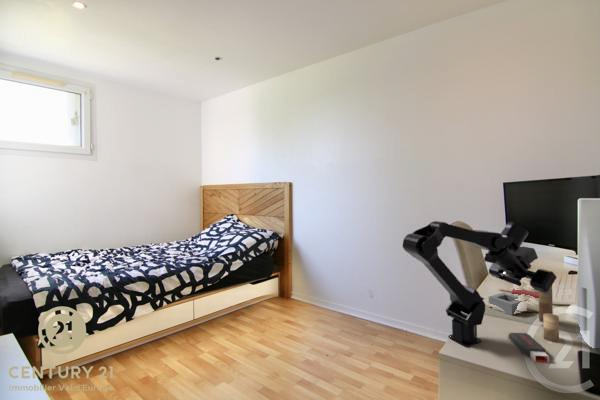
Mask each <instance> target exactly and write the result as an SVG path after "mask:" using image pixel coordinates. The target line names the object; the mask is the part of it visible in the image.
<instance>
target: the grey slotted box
mask: <svg viewBox="0 0 600 400" xmlns="http://www.w3.org/2000/svg"><path fill="white" fill-rule="evenodd" d="M519 297H520V296H518V295H514V294H510V293H507V292H502V293H501V292H500V293H497V294H493V295H490V296H488V304H489V303H490V304H493V305H496V306H498V307H500V308H502V309H503V310H504V311H505V312H506V313H507V315H509V316H515V315H514V312H515V310H516V309H517V306H518V304H519V303H520V302H522V301H519V300H515V299H518V298H519ZM525 299H526V298H525ZM527 300H528V299H526V300H524V301H527ZM506 313H505V314H506Z"/></svg>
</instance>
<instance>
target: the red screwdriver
mask: <svg viewBox="0 0 600 400" xmlns="http://www.w3.org/2000/svg"><path fill="white" fill-rule="evenodd" d="M514 288H515V287H513V288H512V289H504V288H498V290H501V291H506V292H511V295H514V294H518V295H517V296H520V295H521V294H525V295H530V296H533V297H535V298H534V299H539V291H532V290H526V289H522V290H515V289H514Z"/></svg>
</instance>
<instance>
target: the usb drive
mask: <svg viewBox="0 0 600 400" xmlns="http://www.w3.org/2000/svg"><path fill="white" fill-rule="evenodd" d="M507 338H508V340H509V341H510V342H511V343H512V344H513V345H514V346H515V347H517V349H518V350H519V351H520V352H521V353H522V354H523V355H525V356H526V357H528V358H531V359H532V360H533V361H534V362H546V363H549V362H550V356H549V355H548V354H547V353H546V348H545V347H543V345H541V344H540V343H539V342H538V341H537V340H536V339H534V338H533V337H532V336H531V335H530V334H528V333H527V332H510V333H508V337H507Z"/></svg>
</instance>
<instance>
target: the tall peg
mask: <svg viewBox="0 0 600 400" xmlns="http://www.w3.org/2000/svg"><path fill="white" fill-rule="evenodd" d="M538 293H539V298H538V316H539V317H538V319H539V322H541V323H543V314H545V313H549V314H554V313H553V311H554V309H553V285H552V286H551V287H550V294H549V295H546V294H544V293H542V292H539V291H538Z"/></svg>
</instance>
